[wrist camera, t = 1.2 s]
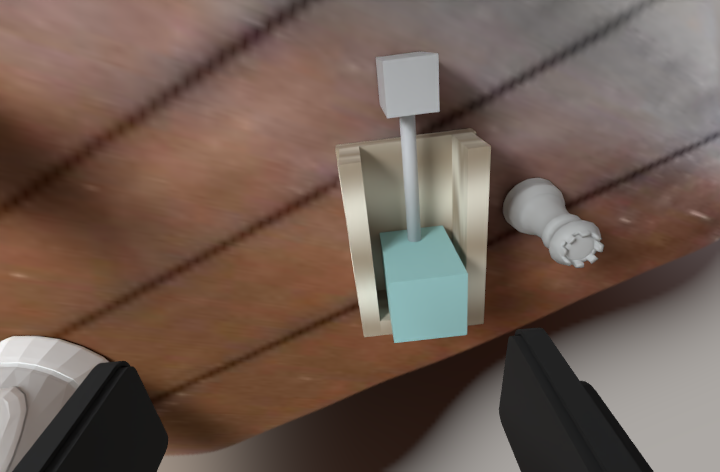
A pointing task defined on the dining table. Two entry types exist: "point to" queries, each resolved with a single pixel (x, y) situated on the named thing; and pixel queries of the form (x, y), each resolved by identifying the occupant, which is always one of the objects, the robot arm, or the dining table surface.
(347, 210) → the beige wooden open box
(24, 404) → the soap bottle
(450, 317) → the cube dumbbell
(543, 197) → the rook chess piece
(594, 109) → the dining table surface
